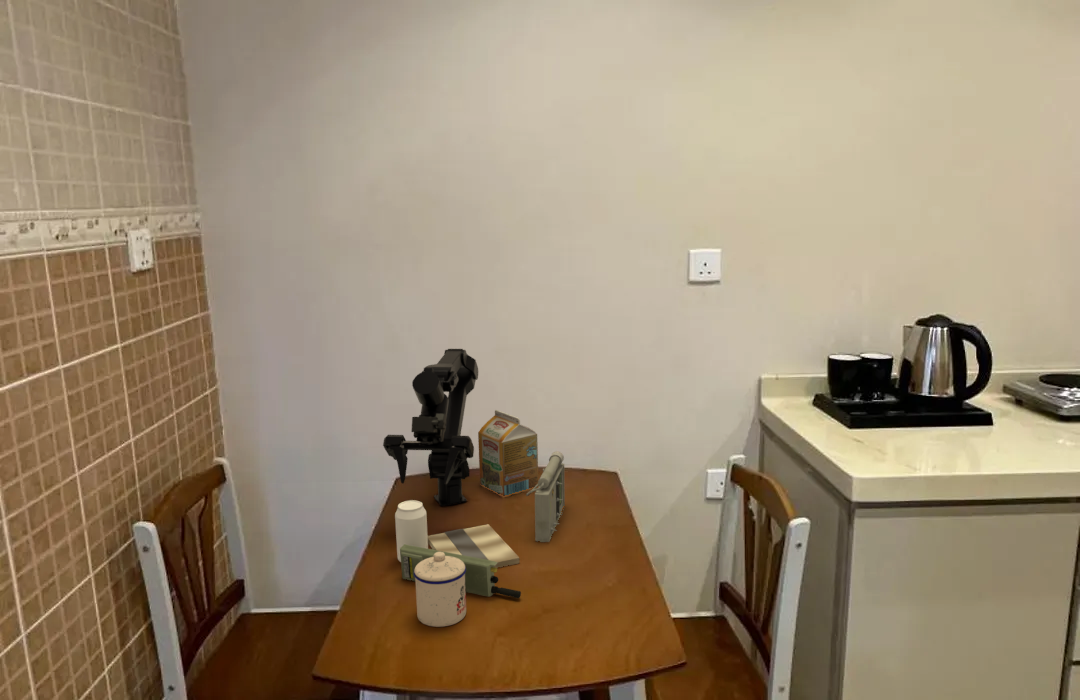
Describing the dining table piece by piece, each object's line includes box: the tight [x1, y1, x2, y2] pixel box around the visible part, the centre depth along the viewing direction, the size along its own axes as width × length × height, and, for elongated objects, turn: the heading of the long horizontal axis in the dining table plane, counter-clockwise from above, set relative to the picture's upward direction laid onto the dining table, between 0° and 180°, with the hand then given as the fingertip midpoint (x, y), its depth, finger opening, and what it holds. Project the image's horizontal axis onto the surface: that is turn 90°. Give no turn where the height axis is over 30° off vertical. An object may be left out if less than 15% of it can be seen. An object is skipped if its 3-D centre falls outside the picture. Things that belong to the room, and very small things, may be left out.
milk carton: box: [477, 409, 539, 496], centre depth 200 cm, size 11×11×19 cm
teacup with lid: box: [414, 552, 467, 628], centre depth 142 cm, size 12×9×12 cm
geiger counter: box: [525, 450, 566, 543], centre depth 181 cm, size 14×6×25 cm
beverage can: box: [394, 499, 429, 563], centre depth 162 cm, size 6×6×12 cm
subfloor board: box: [427, 523, 520, 569], centre depth 166 cm, size 18×14×1 cm
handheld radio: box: [400, 544, 522, 599], centre depth 151 cm, size 7×3×25 cm
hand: (423, 483), depth 168 cm, fingers open, 9 cm apart
